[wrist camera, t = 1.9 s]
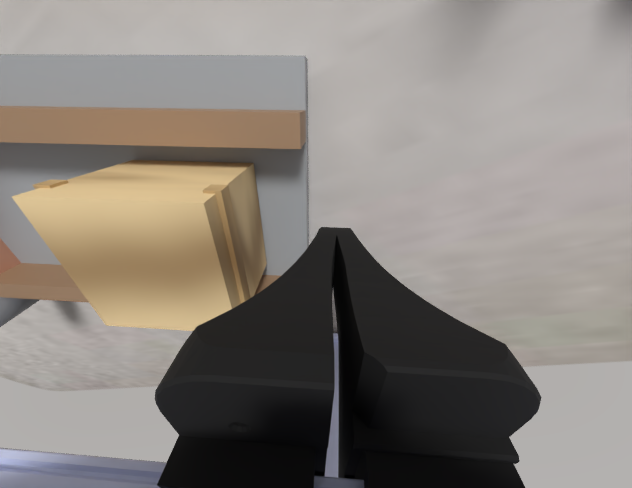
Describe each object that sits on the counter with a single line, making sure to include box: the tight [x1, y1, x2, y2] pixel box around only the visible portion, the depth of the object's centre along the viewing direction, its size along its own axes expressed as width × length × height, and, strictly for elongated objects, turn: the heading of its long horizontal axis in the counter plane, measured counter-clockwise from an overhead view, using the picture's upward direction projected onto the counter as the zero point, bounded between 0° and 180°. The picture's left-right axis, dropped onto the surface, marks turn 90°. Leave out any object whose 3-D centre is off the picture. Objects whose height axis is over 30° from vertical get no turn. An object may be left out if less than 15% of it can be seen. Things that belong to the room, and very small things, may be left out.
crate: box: [12, 160, 267, 331], centre depth 11 cm, size 6×6×5 cm
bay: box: [0, 54, 309, 327], centre depth 12 cm, size 14×21×5 cm, turn 89°
